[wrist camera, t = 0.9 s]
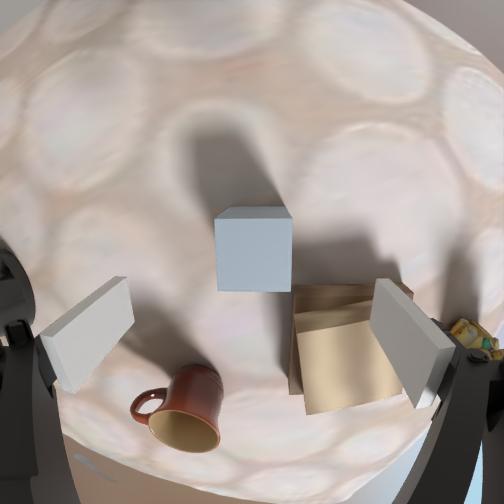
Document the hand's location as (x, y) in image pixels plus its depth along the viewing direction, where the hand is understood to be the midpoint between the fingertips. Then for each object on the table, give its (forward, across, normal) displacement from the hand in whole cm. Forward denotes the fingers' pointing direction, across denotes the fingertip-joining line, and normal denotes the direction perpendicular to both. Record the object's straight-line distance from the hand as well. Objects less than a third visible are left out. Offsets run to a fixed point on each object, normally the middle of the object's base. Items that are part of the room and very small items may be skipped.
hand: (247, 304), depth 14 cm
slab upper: (+14, +10, -13) cm, 22 cm away
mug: (+18, -10, -21) cm, 29 cm away
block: (+18, 0, 0) cm, 18 cm away
